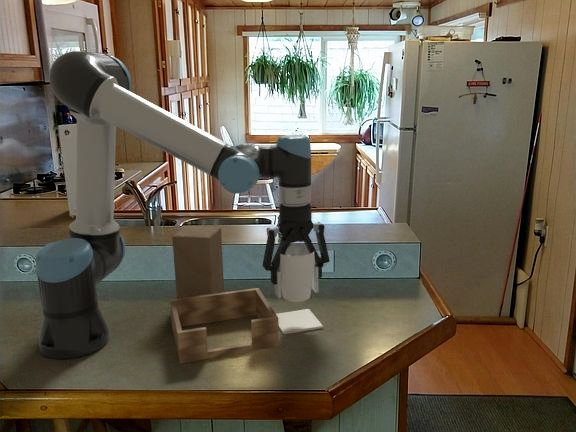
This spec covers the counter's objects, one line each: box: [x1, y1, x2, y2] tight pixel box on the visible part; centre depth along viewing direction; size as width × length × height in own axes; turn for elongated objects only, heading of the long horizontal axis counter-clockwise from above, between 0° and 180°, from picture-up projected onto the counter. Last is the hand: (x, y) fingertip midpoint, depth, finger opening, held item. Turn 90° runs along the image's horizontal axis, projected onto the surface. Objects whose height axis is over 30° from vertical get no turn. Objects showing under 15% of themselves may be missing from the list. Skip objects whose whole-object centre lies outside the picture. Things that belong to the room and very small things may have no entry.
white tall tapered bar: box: [57, 123, 116, 217], centre depth 235 cm, size 20×14×40 cm
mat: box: [275, 308, 324, 335], centre depth 129 cm, size 10×10×1 cm
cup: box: [278, 243, 315, 303], centre depth 126 cm, size 9×9×12 cm
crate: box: [169, 287, 280, 364], centre depth 122 cm, size 22×18×7 cm
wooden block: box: [171, 225, 225, 299], centre depth 139 cm, size 10×10×20 cm
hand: (296, 293), depth 127 cm, fingers closed on cup, 9 cm apart
